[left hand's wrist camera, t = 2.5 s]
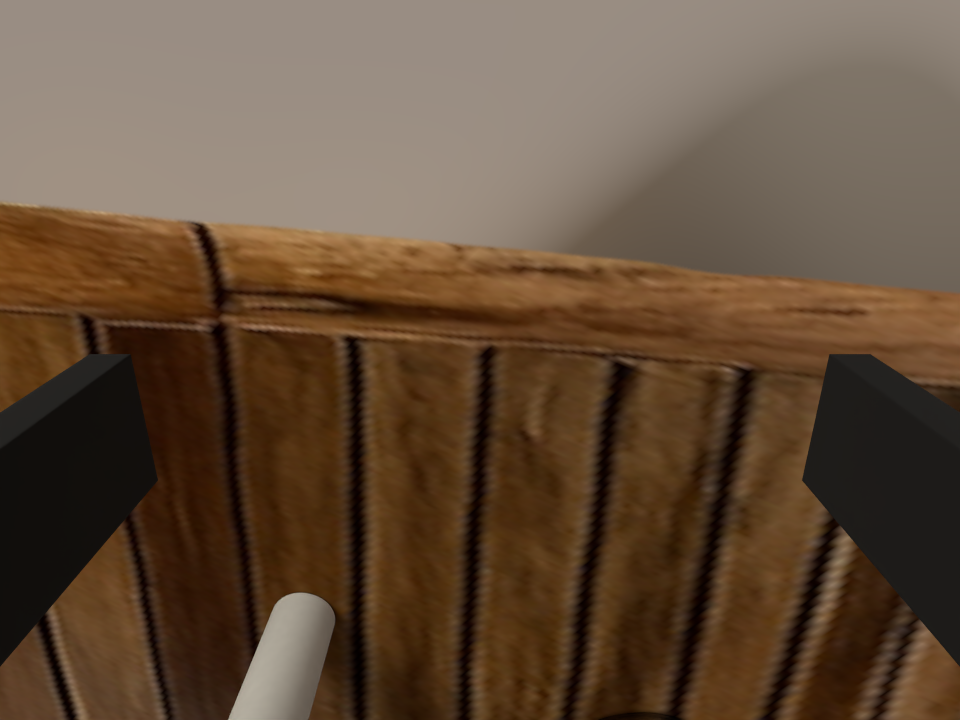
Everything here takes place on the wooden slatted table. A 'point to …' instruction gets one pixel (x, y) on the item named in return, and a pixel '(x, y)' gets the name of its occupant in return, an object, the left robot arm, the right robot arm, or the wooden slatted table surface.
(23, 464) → the left robot arm
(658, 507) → the wooden slatted table surface
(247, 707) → the jar
